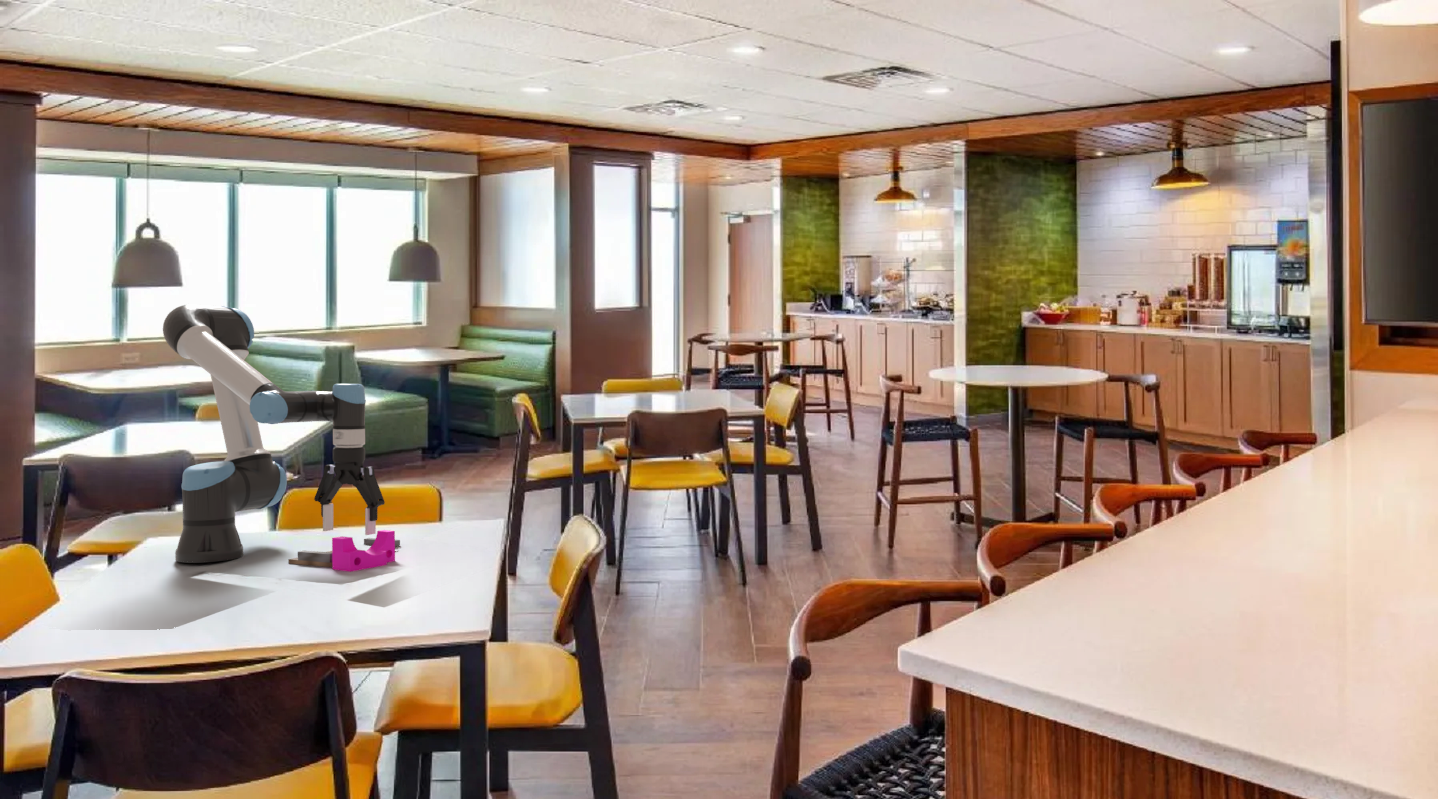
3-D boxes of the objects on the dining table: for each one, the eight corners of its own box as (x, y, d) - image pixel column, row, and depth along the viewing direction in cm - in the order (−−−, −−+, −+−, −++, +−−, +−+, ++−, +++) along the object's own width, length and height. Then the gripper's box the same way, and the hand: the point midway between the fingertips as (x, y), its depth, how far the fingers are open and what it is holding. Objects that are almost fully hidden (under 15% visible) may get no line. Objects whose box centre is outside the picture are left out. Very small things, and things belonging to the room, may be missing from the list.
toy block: (350, 572, 243) (349, 539, 243) (332, 570, 246) (332, 537, 246) (402, 562, 255) (401, 531, 255) (384, 560, 259) (384, 529, 259)
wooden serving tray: (288, 563, 254) (288, 550, 254) (360, 548, 276) (360, 537, 276) (339, 567, 248) (339, 554, 248) (409, 552, 269) (409, 540, 269)
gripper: (299, 445, 263) (299, 530, 264) (377, 449, 253) (377, 537, 253) (322, 443, 270) (322, 527, 270) (399, 447, 260) (399, 533, 260)
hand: (349, 532), depth 262 cm, fingers open, 13 cm apart
